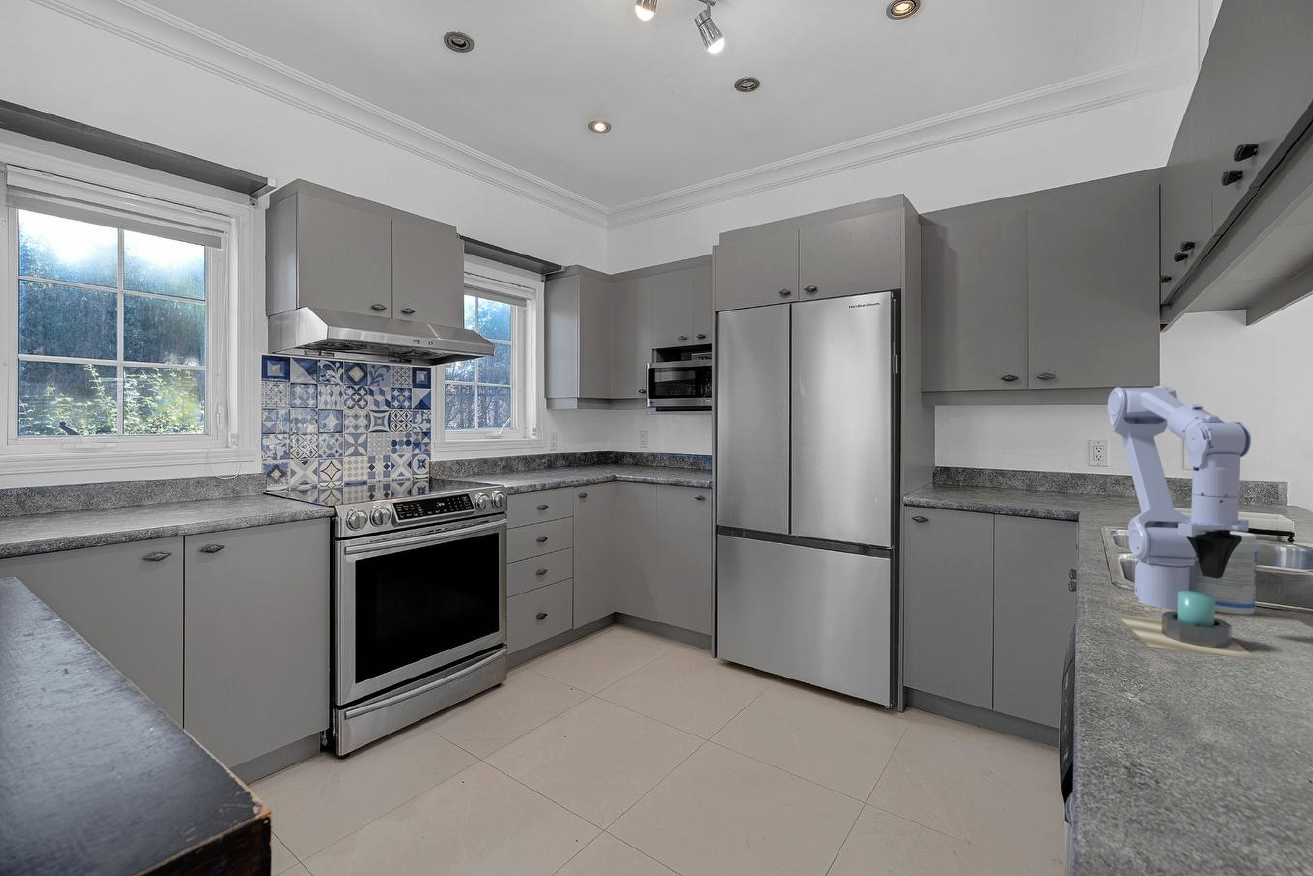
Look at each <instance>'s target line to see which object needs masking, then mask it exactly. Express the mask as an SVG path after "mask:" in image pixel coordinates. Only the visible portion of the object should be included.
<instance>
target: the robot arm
mask: <svg viewBox="0 0 1313 876" xmlns="http://www.w3.org/2000/svg"><path fill="white" fill-rule="evenodd" d="M1177 396H1178V395H1177V391H1176V389H1173V388H1171V387H1170V386H1164V387H1119V386H1117V387H1115V388H1114V389H1112V391H1111V392H1110V394H1109V396H1108V399H1107V407H1106V408H1107V413H1108V417H1109V420H1110V424H1111V427H1112V430H1113V432H1114V433H1116V434H1118V435H1120V436H1121V439H1122V440H1121V441H1122V445H1123V447H1124V452H1125V455H1126V458H1127V463H1128V466H1129V471H1130V473H1131V478H1132V481H1133V484H1134V488H1135V492H1136V498H1137V500H1138V506H1139V508H1140V511H1141V512H1139V514H1137V515H1136V516H1134V517H1133V518H1131V520H1130V521H1129V523H1128V524H1127V530H1128V546H1129V549H1130V551H1131V554H1133V556H1134V557H1135V558H1136V559H1138V560H1139V561H1138V562H1137V564H1136V566H1135V569H1134V570H1135V571H1134V595H1135V597H1137V598H1138V601H1139V603H1142V604H1143V605H1147V606H1151V607H1154V608H1159V609H1165V610H1174V611H1178V592H1180V591H1189V576H1190V566H1194V565H1195V561H1199V565H1200V568H1201V572H1202V575H1203V576H1208V577H1212V578H1222V576H1223V574H1224V571H1225V568H1226V566H1227V563H1228V560H1229V558H1230V556H1231V554H1232V552H1233V551H1234V549H1235V548H1236V547H1237V545H1238V544H1239V543H1240V542H1241V541H1242V536H1239V535H1233V534H1230V532H1233V531H1237V532H1249V523H1250V521H1249V519H1244V518H1239V509H1240V507H1239V503H1240V502H1239V501H1240V499H1239V498H1240V473H1241V458H1242V457H1244V456H1246V455H1247V453H1249V451H1250V448H1251V445H1252V437H1251V432H1250V430H1249V428H1248V427H1247V426H1246V425H1245V424H1244V423H1243V422H1242V421H1232V422H1225V421H1223V420H1221V419H1220V418H1219V416H1217V415H1215V414H1212V413H1210V412H1208V411H1207V410H1206V409H1204V406H1203V405H1201V404H1198V403H1197V404H1195V403H1194V404H1193V403H1192V404H1191V403H1190V404H1189V405H1185V404H1184V403H1183V402H1181V401H1180V400H1179V399H1178V397H1177ZM1167 428H1168V429H1169V430H1170V432H1171V433H1173V434H1175V435H1176V436H1177V437H1179V438H1180V439H1181V440H1183V441H1184V444H1185V449H1186V451H1187V455H1188V463H1189V466H1190V467H1192V484H1191V487H1192V489H1191V511H1190V512H1191V514H1190V515H1191V516H1190V517H1189V516H1188V515H1185V514H1183V513H1182V512H1180V511H1179V510H1177V509H1176V508H1175V506H1174V502H1173V499H1172V495H1171V492H1170V489H1169V486H1168V483H1167V479H1166V476H1165V472H1164V469H1163V465H1162V462H1161V459H1160V455H1159V451H1158V447H1157V444H1156V442H1155V436H1158V435H1159V434H1162V433H1165V431H1166V430H1167Z"/></svg>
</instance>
